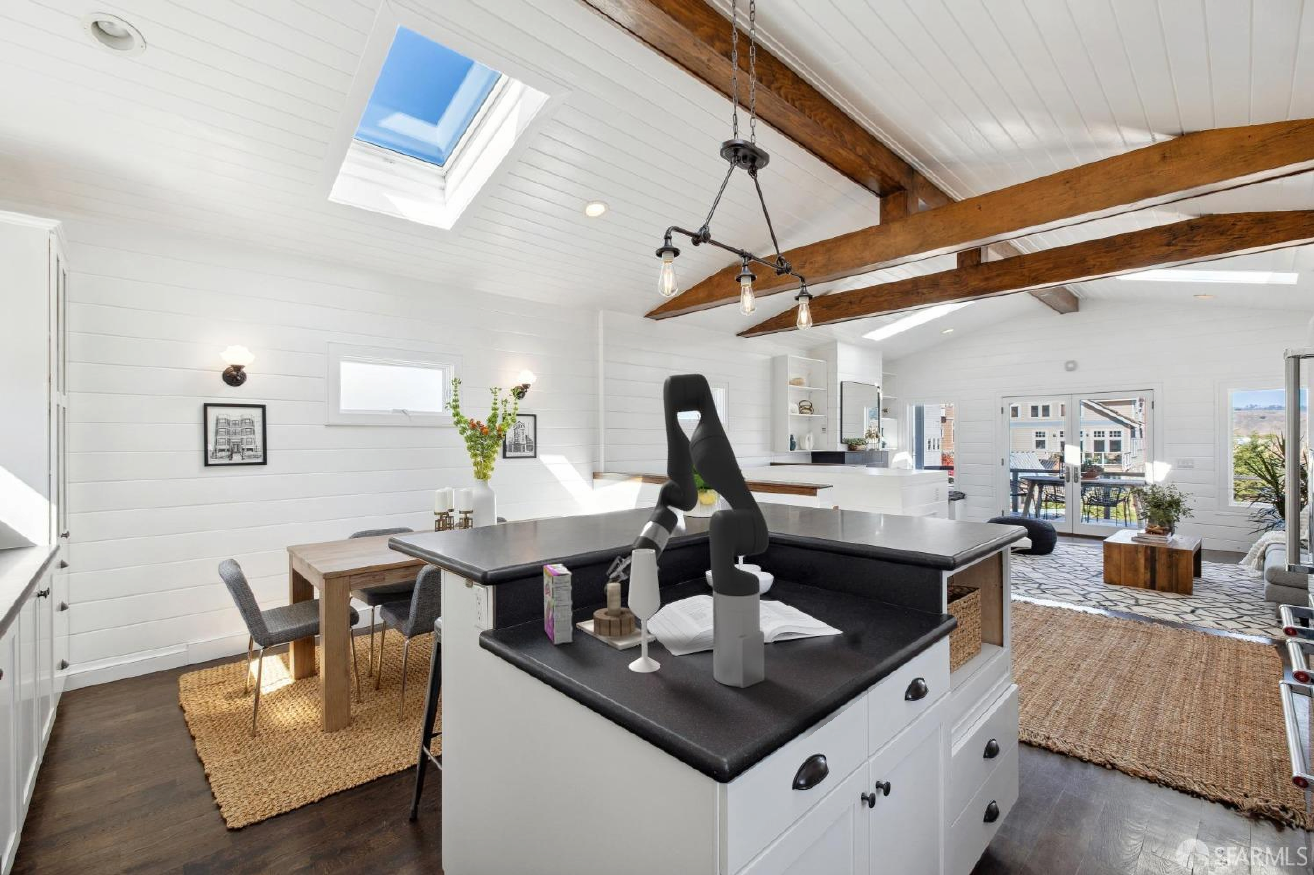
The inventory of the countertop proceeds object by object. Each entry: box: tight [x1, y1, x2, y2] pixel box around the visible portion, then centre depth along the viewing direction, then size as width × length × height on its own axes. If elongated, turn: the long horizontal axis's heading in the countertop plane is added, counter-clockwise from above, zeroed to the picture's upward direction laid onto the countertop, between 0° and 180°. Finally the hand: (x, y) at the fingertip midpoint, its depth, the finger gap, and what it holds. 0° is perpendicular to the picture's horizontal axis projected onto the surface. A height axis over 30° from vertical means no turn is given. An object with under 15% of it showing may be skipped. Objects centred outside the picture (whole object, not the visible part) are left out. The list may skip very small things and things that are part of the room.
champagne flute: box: [627, 549, 661, 673], centre depth 122 cm, size 7×7×24 cm
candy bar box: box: [543, 563, 574, 645], centre depth 140 cm, size 11×5×16 cm, turn 22°
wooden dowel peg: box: [606, 582, 622, 616], centre depth 142 cm, size 3×3×11 cm
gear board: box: [575, 606, 656, 651], centre depth 142 cm, size 20×10×5 cm, turn 37°
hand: (618, 596), depth 143 cm, fingers open, 8 cm apart
